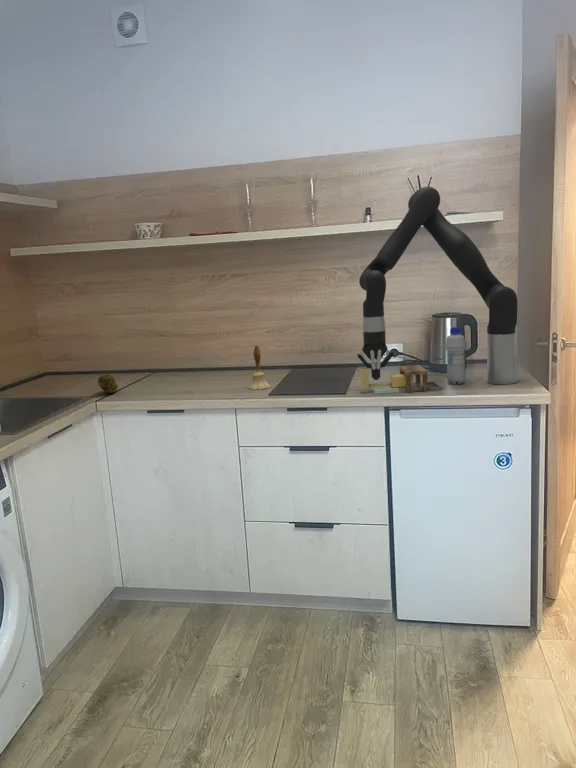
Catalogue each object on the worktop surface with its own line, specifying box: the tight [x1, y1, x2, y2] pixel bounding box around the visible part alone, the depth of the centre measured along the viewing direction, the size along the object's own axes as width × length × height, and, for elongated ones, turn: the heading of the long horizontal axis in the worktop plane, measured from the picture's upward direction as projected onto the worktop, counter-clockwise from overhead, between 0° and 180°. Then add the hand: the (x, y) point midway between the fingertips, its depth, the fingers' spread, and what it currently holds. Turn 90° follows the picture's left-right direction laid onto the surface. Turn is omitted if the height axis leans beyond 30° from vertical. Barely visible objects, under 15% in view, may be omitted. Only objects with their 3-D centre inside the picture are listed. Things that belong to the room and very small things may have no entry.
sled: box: [359, 367, 414, 390], centre depth 218 cm, size 18×5×7 cm, turn 91°
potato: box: [97, 374, 119, 394], centre depth 246 cm, size 8×13×8 cm, turn 175°
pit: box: [420, 381, 444, 392], centre depth 219 cm, size 5×11×1 cm, turn 2°
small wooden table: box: [399, 364, 429, 394], centre depth 219 cm, size 7×12×7 cm, turn 1°
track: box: [371, 382, 423, 395], centre depth 219 cm, size 18×8×1 cm, turn 92°
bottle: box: [445, 326, 466, 386], centre depth 221 cm, size 7×7×20 cm
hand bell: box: [248, 345, 271, 391], centre depth 238 cm, size 8×8×16 cm
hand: (375, 379), depth 218 cm, fingers closed
